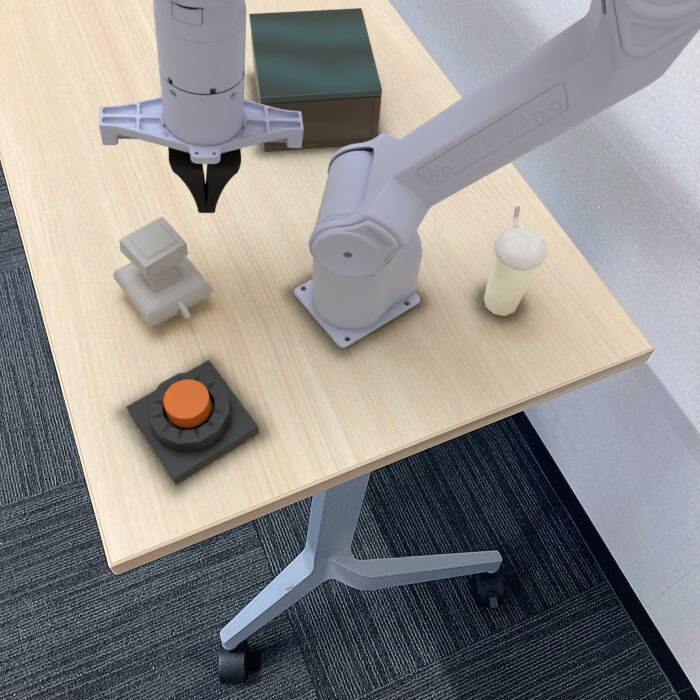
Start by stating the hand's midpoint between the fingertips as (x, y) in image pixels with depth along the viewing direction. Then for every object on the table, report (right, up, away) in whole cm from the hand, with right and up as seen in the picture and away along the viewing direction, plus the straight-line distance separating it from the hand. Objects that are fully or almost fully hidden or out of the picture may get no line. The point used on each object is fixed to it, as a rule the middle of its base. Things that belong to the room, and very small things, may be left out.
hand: (206, 204), depth 60 cm
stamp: (-5, -8, +8) cm, 12 cm away
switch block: (-1, -18, +1) cm, 18 cm away
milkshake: (+26, -7, +9) cm, 29 cm away
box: (+8, +16, +23) cm, 28 cm away
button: (-1, -17, -1) cm, 17 cm away
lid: (+8, +19, +17) cm, 27 cm away
